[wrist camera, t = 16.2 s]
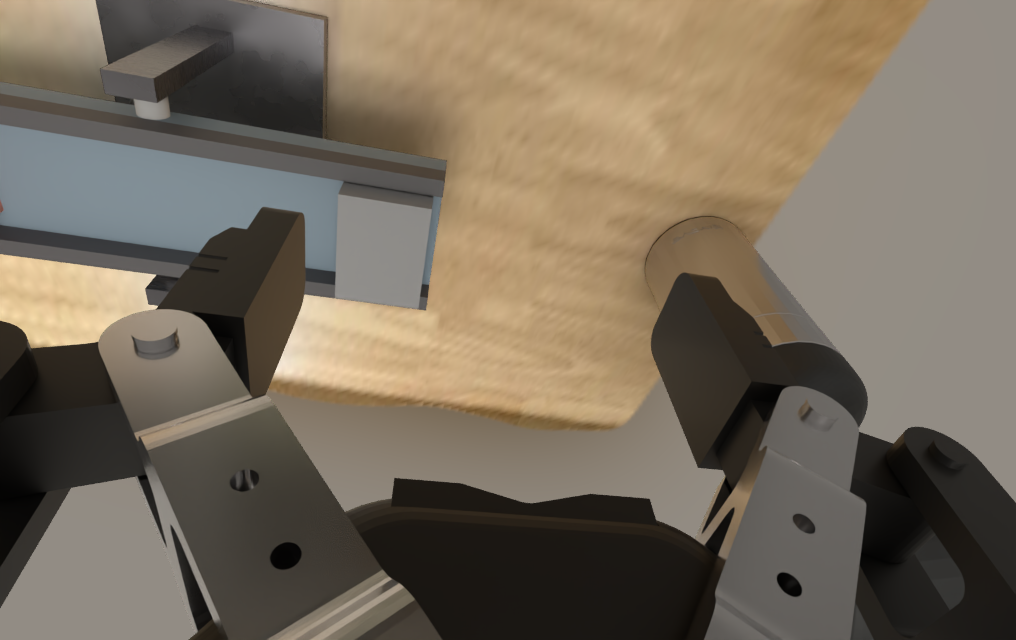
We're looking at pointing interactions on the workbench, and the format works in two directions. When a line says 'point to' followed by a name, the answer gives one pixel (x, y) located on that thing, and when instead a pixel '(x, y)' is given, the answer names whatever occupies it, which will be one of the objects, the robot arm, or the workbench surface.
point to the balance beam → (208, 193)
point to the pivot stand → (218, 66)
